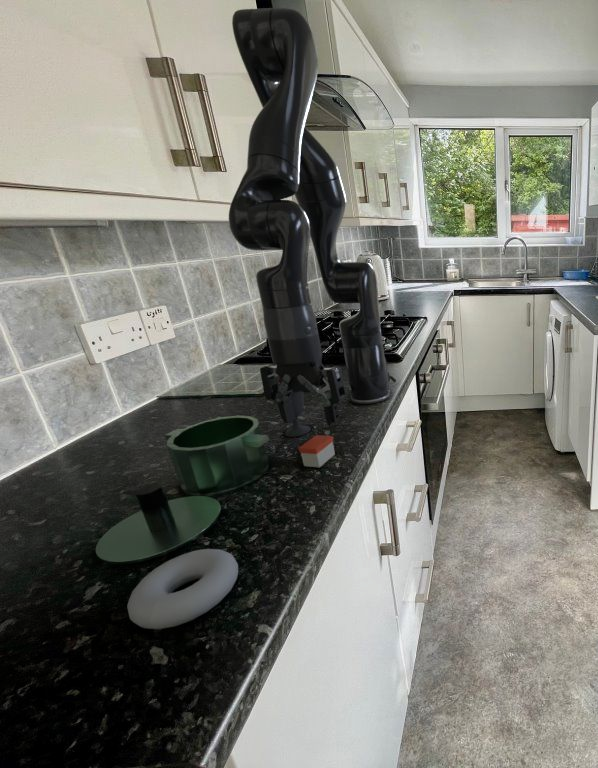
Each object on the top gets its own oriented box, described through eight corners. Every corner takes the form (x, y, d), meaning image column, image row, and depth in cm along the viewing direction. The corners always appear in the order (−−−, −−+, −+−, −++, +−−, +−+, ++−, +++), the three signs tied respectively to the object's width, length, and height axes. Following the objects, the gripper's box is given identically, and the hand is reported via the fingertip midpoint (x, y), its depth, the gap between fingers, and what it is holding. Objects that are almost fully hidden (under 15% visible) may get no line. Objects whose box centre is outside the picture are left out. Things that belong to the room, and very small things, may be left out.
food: (319, 452, 78) (316, 434, 76) (336, 454, 77) (332, 436, 76) (302, 466, 73) (298, 447, 72) (319, 468, 73) (315, 449, 71)
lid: (170, 498, 65) (156, 459, 63) (244, 506, 63) (232, 466, 60) (69, 561, 52) (47, 515, 50) (157, 574, 50) (137, 527, 48)
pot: (214, 453, 78) (202, 413, 75) (298, 460, 75) (288, 418, 72) (149, 491, 67) (131, 445, 64) (244, 501, 64) (230, 454, 61)
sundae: (275, 440, 83) (258, 370, 78) (285, 426, 89) (270, 360, 84) (310, 437, 84) (296, 367, 79) (318, 423, 90) (305, 358, 85)
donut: (249, 556, 53) (155, 577, 50) (243, 534, 52) (146, 554, 48) (229, 619, 44) (113, 650, 41) (222, 595, 43) (101, 625, 40)
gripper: (345, 328, 69) (359, 416, 75) (271, 327, 72) (290, 412, 77) (317, 339, 62) (335, 434, 68) (237, 337, 65) (260, 429, 70)
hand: (311, 422), depth 72 cm, fingers open, 8 cm apart
